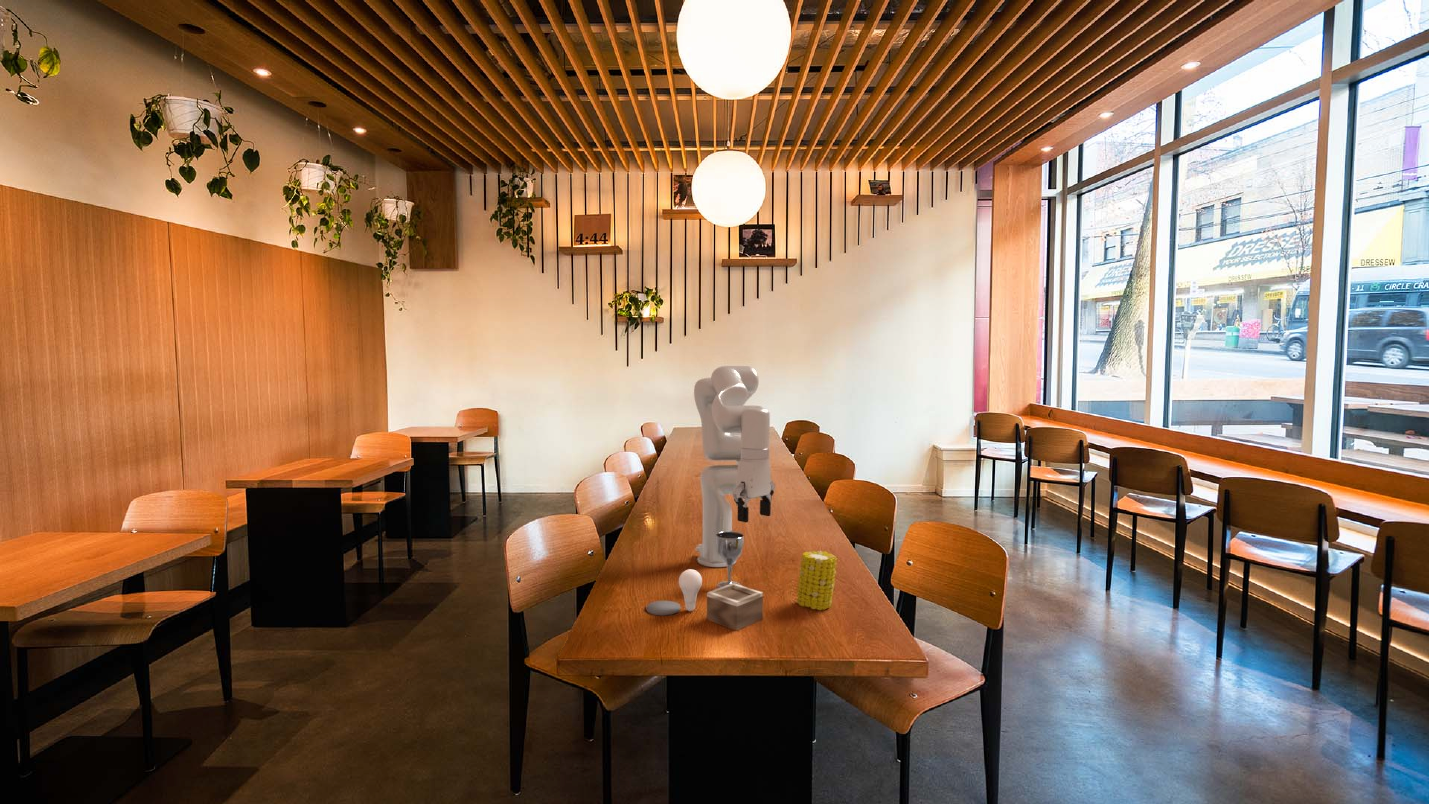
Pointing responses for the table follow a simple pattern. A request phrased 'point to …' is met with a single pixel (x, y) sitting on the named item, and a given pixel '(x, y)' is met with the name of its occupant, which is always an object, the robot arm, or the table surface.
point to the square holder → (734, 606)
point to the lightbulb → (690, 587)
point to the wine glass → (729, 551)
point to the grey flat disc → (663, 608)
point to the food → (816, 580)
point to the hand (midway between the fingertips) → (754, 518)
